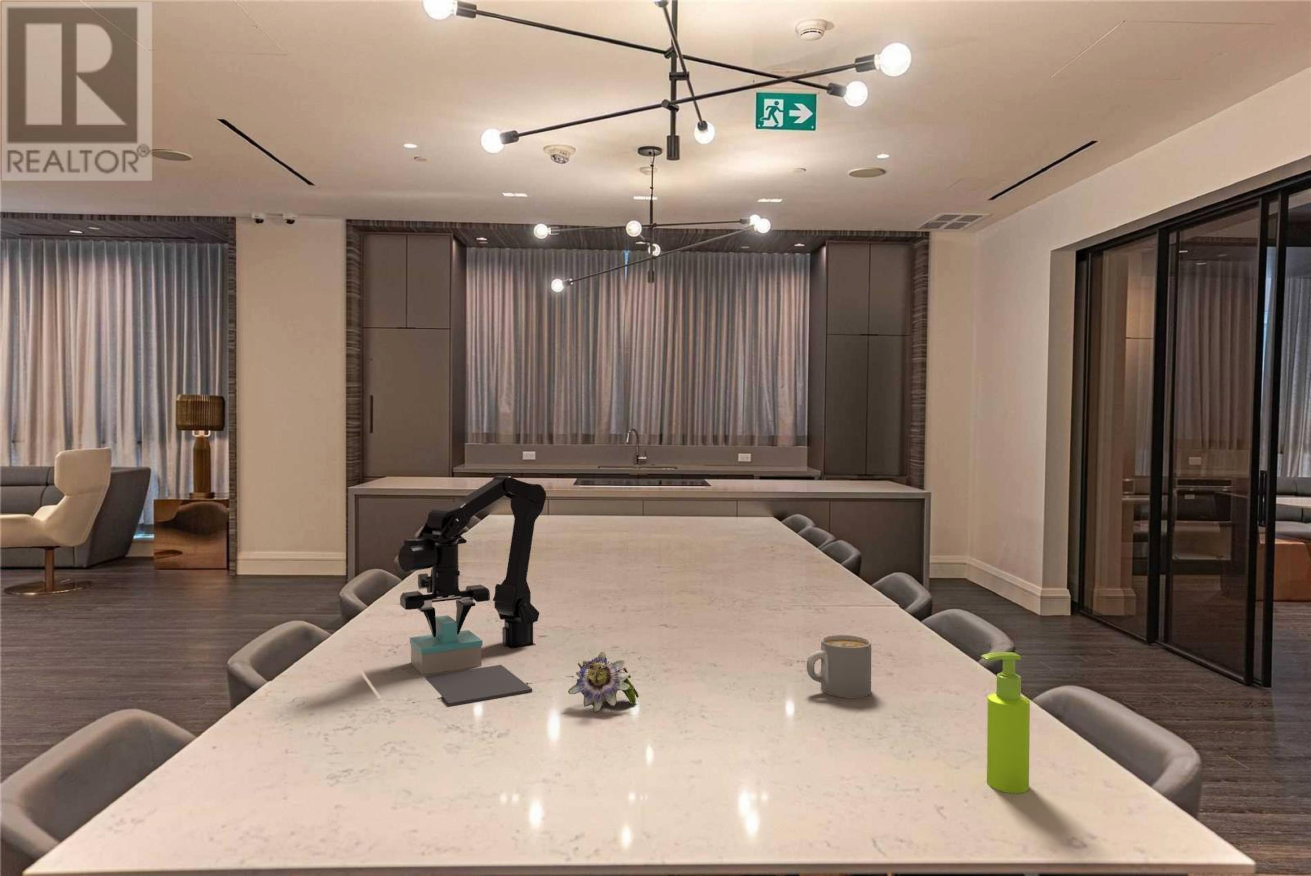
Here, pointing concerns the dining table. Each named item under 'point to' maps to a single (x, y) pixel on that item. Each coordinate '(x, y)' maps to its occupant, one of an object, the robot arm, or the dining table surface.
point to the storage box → (446, 660)
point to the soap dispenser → (1008, 729)
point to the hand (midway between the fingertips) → (445, 635)
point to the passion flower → (603, 682)
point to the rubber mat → (477, 684)
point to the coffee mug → (843, 666)
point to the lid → (445, 638)
